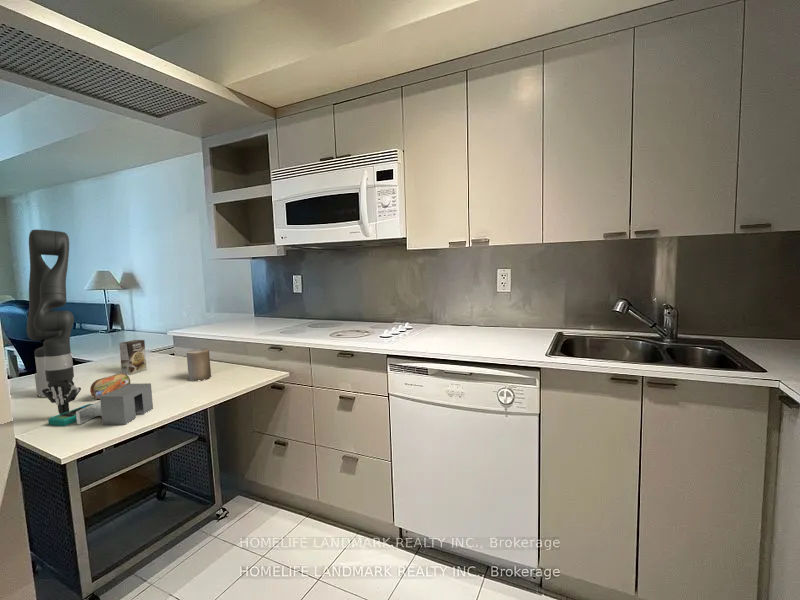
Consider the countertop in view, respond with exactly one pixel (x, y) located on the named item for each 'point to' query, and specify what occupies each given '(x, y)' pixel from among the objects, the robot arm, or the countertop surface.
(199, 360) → the pillar candle
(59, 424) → the digital multimeter
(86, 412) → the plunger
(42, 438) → the countertop surface
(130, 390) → the gray tunnel block
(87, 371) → the countertop surface
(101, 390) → the tin
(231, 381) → the countertop surface
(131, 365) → the food box
